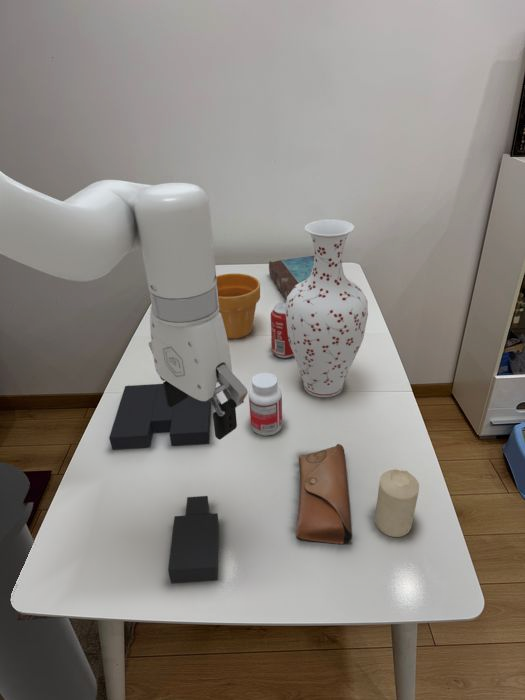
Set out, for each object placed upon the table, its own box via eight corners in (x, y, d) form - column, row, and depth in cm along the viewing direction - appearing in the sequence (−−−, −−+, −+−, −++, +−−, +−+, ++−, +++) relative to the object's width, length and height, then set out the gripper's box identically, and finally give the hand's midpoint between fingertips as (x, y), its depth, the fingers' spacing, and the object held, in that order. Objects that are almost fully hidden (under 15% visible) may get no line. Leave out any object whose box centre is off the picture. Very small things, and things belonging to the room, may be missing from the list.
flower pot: (198, 340, 123) (193, 294, 116) (218, 314, 134) (214, 270, 127) (252, 347, 119) (249, 300, 112) (268, 320, 130) (266, 275, 123)
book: (269, 276, 155) (268, 261, 152) (321, 269, 158) (321, 254, 156) (289, 307, 136) (289, 291, 134) (348, 298, 140) (349, 282, 137)
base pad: (112, 449, 90) (108, 437, 89) (127, 397, 104) (125, 385, 102) (209, 443, 91) (207, 431, 89) (212, 392, 104) (210, 380, 103)
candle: (367, 519, 75) (372, 473, 70) (391, 502, 78) (398, 456, 73) (394, 544, 72) (403, 497, 66) (419, 524, 74) (428, 478, 69)
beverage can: (303, 351, 117) (303, 306, 110) (286, 362, 113) (286, 317, 106) (283, 342, 120) (282, 299, 114) (266, 353, 117) (264, 308, 110)
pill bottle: (265, 411, 98) (263, 366, 92) (288, 424, 95) (288, 378, 89) (244, 427, 94) (240, 381, 89) (267, 441, 91) (265, 394, 85)
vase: (298, 415, 97) (299, 247, 78) (277, 370, 110) (274, 218, 92) (373, 401, 100) (391, 236, 81) (344, 359, 113) (354, 209, 94)
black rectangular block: (170, 583, 67) (167, 570, 66) (179, 510, 78) (176, 497, 76) (217, 580, 68) (216, 567, 66) (219, 507, 78) (218, 494, 77)
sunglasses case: (295, 453, 87) (315, 429, 84) (328, 468, 89) (349, 445, 85) (294, 540, 72) (318, 515, 69) (334, 557, 73) (360, 533, 70)
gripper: (114, 290, 58) (139, 403, 67) (211, 337, 47) (225, 464, 57) (164, 270, 62) (181, 379, 71) (263, 309, 52) (268, 431, 61)
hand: (201, 416), depth 64 cm, fingers open, 9 cm apart
